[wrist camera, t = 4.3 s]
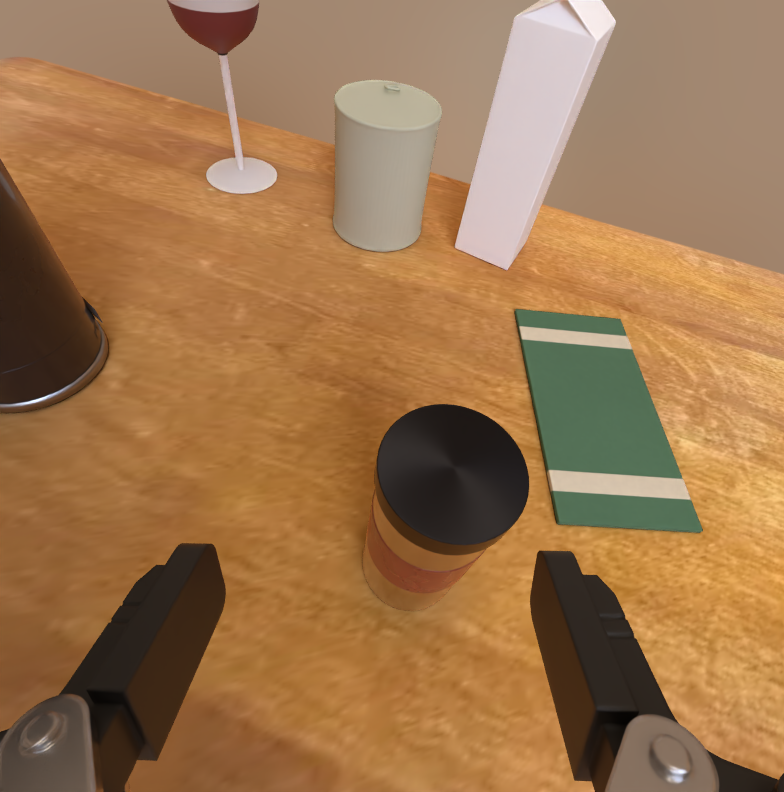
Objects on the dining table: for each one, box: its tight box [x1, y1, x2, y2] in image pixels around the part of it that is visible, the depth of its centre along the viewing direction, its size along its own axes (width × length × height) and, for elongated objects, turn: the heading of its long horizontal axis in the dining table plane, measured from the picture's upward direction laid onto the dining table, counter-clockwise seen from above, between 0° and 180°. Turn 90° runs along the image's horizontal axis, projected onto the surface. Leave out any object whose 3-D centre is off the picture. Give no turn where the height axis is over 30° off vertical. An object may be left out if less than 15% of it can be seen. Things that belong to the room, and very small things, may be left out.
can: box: [333, 80, 442, 252], centre depth 42 cm, size 9×9×12 cm
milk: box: [455, 0, 616, 270], centre depth 38 cm, size 6×6×22 cm
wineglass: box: [167, 0, 277, 194], centre depth 42 cm, size 8×9×20 cm
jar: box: [362, 404, 529, 611], centre depth 22 cm, size 6×6×12 cm
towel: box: [515, 309, 703, 533], centre depth 36 cm, size 10×20×1 cm, turn 179°
